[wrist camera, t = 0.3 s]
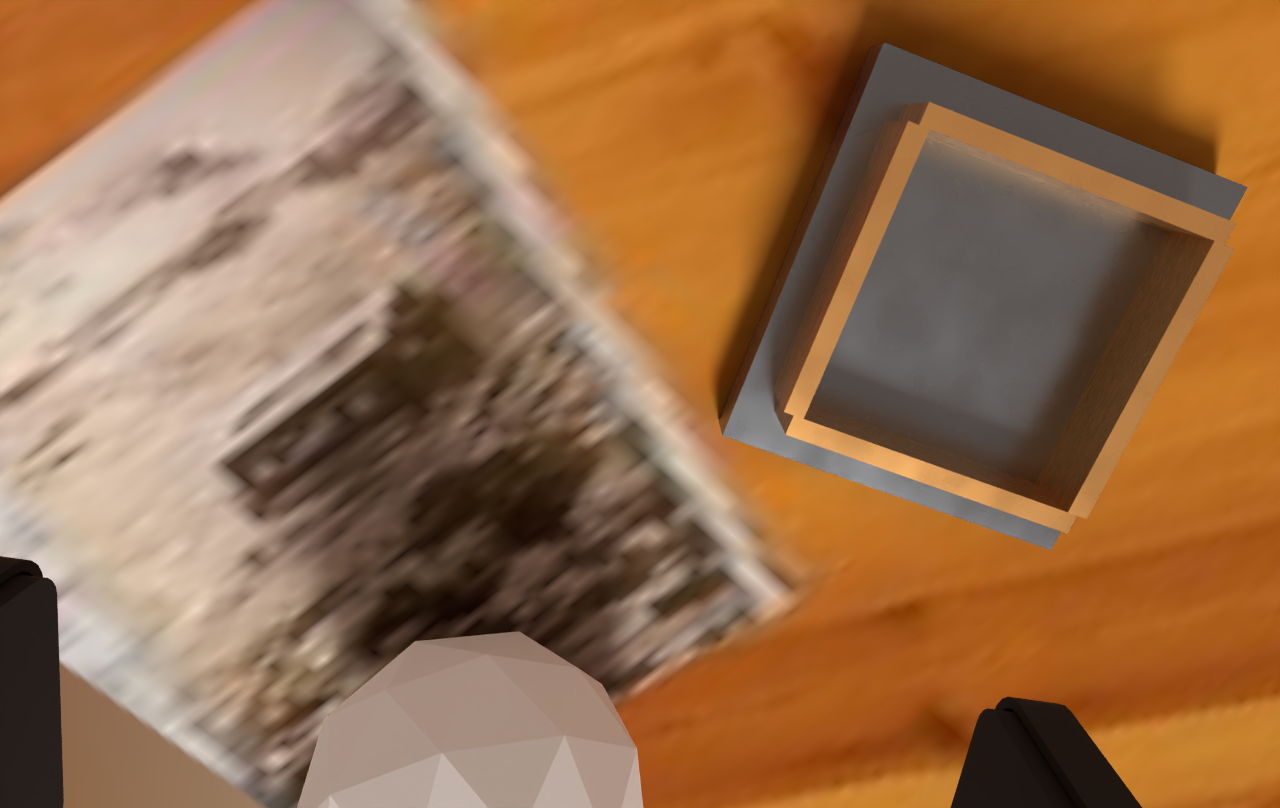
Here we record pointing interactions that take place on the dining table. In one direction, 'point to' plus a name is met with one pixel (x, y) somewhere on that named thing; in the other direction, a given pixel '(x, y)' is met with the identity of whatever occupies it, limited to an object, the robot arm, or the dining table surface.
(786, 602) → the dining table surface
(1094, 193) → the open square box
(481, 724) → the geodesic sphere
